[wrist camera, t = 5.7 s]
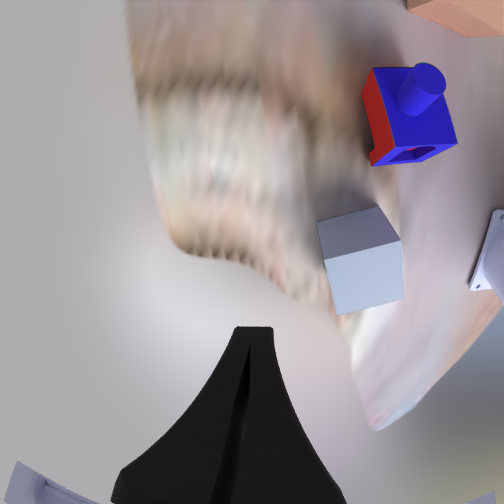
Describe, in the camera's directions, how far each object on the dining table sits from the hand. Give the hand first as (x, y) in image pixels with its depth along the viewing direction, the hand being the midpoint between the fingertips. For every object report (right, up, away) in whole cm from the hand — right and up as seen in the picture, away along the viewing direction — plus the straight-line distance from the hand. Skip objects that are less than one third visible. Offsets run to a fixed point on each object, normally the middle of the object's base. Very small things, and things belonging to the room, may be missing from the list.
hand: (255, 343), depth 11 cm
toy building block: (+8, +12, +4) cm, 15 cm away
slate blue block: (+7, +4, +9) cm, 12 cm away
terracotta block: (+11, +19, -1) cm, 23 cm away
